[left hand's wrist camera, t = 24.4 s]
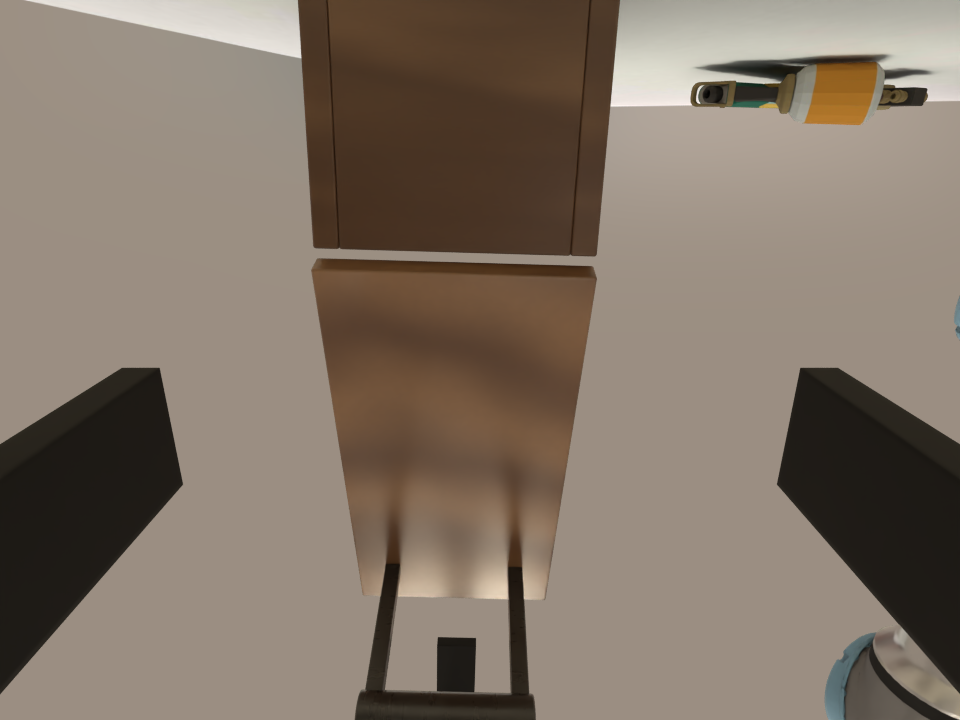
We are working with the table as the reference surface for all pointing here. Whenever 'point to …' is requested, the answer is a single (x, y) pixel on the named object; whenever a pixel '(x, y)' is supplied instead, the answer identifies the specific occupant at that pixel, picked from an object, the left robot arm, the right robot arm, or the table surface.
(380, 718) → the lid
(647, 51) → the table surface
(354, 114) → the chest
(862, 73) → the spray gun
